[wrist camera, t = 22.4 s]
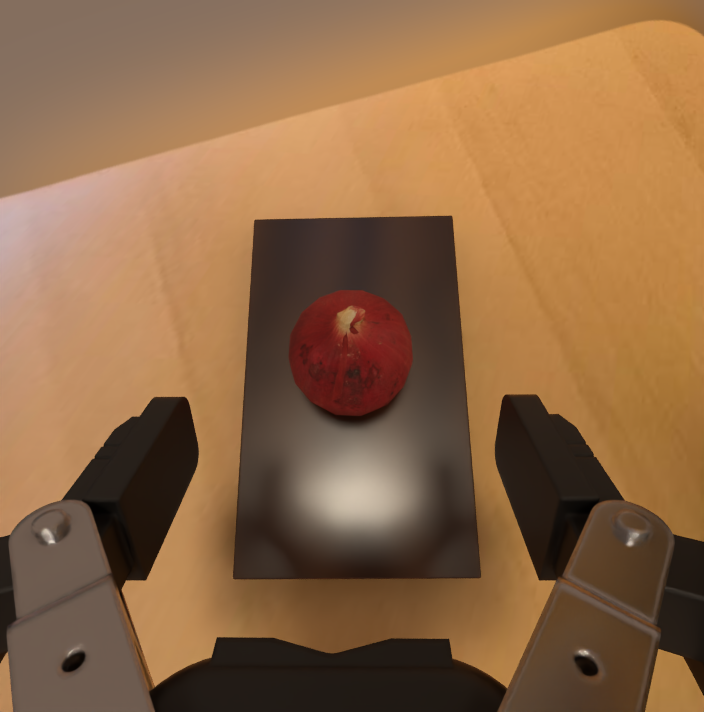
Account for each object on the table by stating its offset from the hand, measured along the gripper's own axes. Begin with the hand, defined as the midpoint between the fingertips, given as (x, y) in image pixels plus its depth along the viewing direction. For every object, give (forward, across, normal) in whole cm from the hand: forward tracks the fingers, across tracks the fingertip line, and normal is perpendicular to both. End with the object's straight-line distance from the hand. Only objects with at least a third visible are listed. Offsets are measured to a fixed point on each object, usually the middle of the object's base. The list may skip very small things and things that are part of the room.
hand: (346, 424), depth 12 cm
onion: (+12, 0, -6) cm, 14 cm away
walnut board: (+13, 0, -7) cm, 15 cm away
